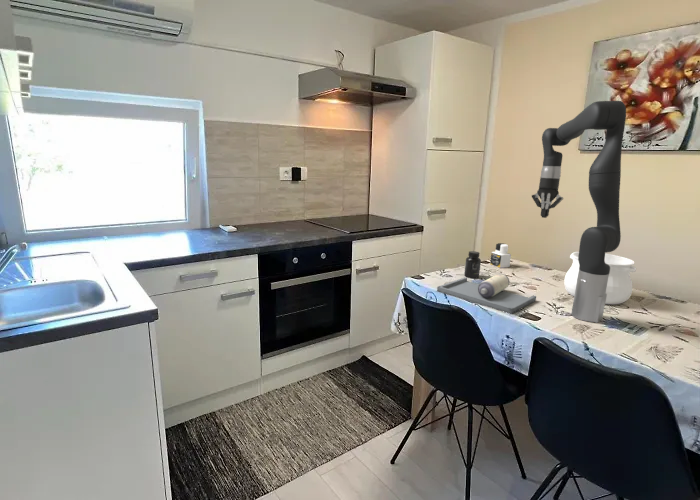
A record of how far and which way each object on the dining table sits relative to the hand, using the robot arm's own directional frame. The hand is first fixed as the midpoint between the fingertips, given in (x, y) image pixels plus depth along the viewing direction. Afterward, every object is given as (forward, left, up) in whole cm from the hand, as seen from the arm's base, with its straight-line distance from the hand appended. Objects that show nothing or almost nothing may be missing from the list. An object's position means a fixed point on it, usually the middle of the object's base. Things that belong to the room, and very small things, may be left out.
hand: (544, 217), depth 174 cm
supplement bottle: (+25, +11, -31) cm, 41 cm away
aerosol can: (+7, +19, -27) cm, 34 cm away
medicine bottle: (+26, -20, -31) cm, 45 cm away
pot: (-23, -6, -31) cm, 39 cm away
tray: (+7, +32, -31) cm, 45 cm away
